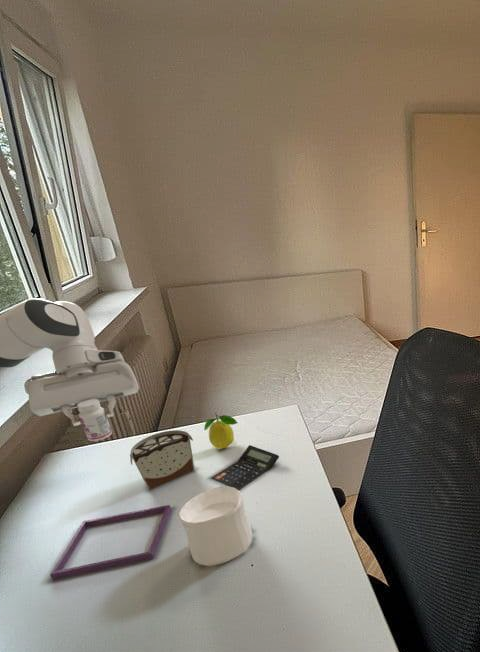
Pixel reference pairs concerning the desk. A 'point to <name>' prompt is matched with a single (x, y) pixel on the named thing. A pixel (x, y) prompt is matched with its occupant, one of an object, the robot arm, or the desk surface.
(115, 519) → the purple square frame
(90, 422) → the pill bottle
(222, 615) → the desk surface
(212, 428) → the lemon
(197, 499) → the cup
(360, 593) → the desk surface
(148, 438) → the food container
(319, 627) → the desk surface
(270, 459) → the calculator
